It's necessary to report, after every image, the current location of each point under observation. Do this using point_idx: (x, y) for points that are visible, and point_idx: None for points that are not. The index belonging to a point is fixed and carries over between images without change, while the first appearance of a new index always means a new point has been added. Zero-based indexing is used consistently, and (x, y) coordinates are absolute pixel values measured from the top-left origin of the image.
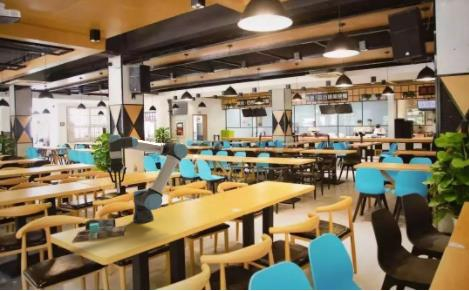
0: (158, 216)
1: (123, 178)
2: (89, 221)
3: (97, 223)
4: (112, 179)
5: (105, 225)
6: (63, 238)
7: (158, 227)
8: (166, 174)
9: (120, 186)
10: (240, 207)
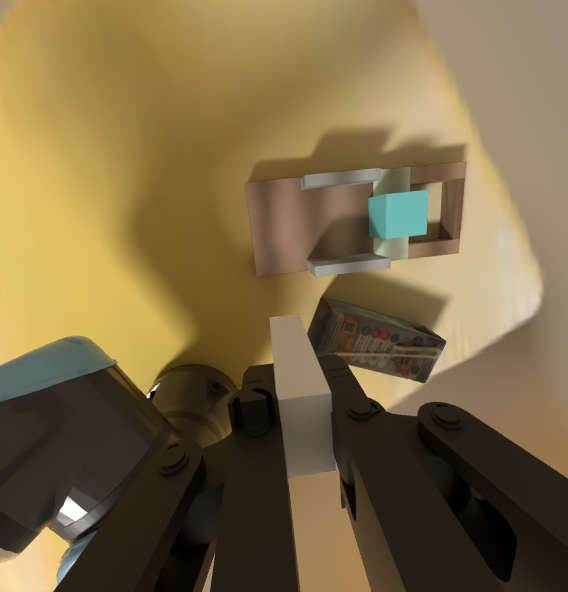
0: None
1: (99, 549)
2: (429, 346)
3: (390, 227)
4: (514, 479)
5: (346, 257)
6: (501, 236)
7: (93, 262)
8: None
9: (255, 376)
10: None
